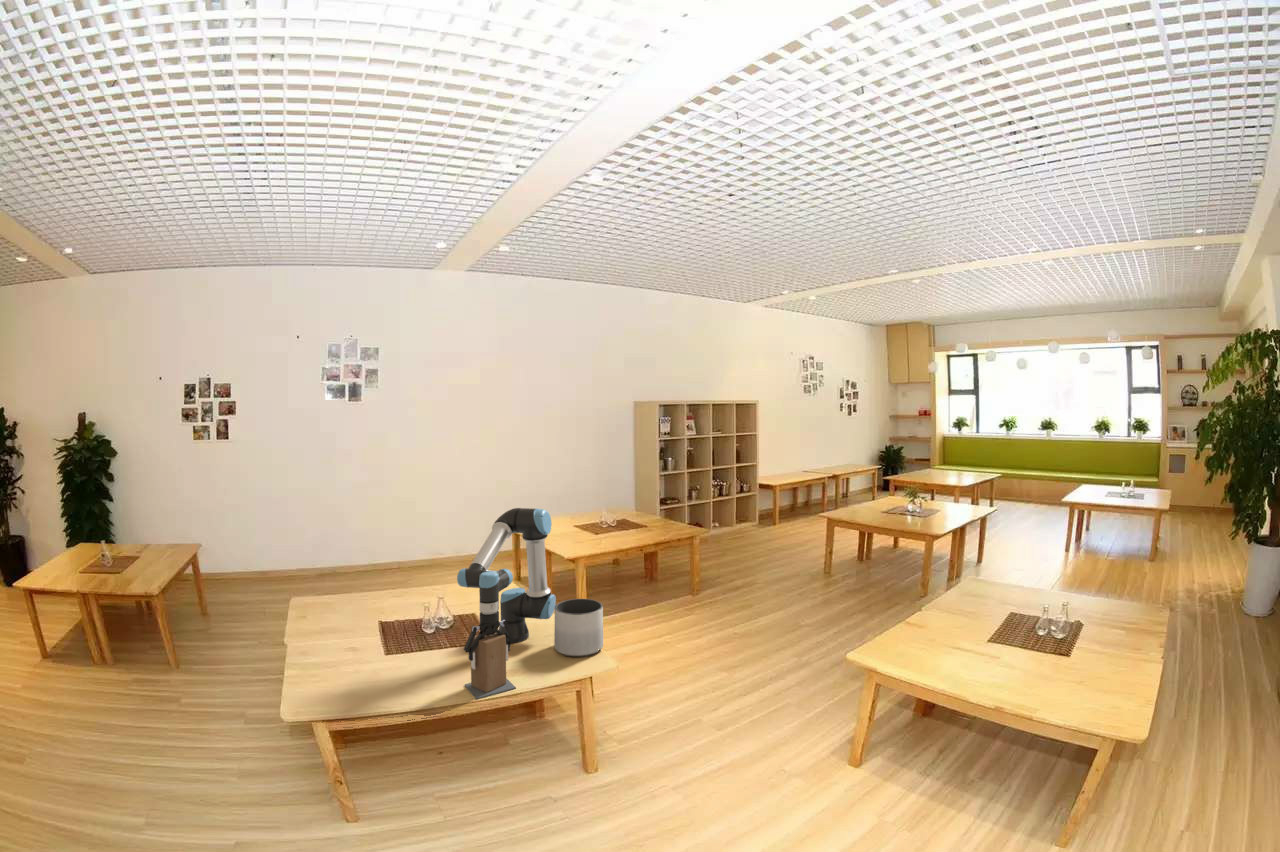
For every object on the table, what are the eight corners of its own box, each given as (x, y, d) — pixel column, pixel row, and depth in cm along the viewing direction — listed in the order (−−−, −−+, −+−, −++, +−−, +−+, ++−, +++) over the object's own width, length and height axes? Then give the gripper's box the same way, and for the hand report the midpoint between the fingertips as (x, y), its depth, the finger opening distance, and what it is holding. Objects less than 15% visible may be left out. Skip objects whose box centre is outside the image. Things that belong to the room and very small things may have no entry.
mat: (464, 685, 246) (464, 684, 246) (502, 675, 255) (502, 674, 255) (476, 699, 235) (476, 698, 235) (515, 688, 244) (515, 687, 244)
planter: (545, 646, 286) (545, 604, 285) (586, 635, 299) (586, 595, 299) (570, 663, 268) (570, 618, 267) (612, 650, 281) (612, 607, 281)
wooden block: (486, 693, 239) (486, 642, 238) (470, 686, 245) (469, 637, 244) (506, 683, 247) (506, 634, 246) (490, 677, 253) (489, 629, 252)
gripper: (461, 620, 234) (461, 674, 235) (522, 608, 248) (522, 659, 249) (455, 614, 240) (455, 668, 241) (515, 603, 254) (515, 653, 255)
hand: (489, 663), depth 245 cm, fingers open, 13 cm apart
